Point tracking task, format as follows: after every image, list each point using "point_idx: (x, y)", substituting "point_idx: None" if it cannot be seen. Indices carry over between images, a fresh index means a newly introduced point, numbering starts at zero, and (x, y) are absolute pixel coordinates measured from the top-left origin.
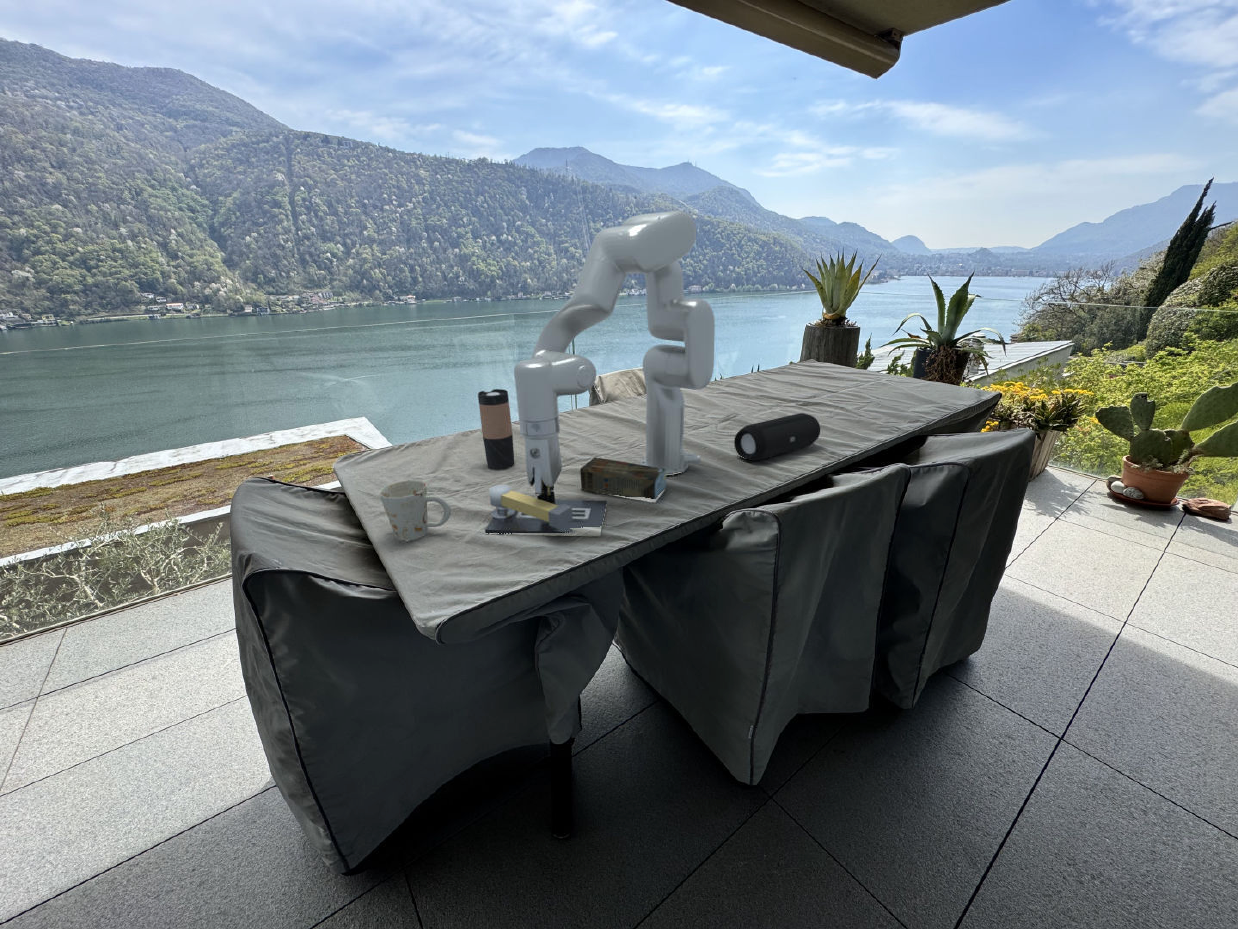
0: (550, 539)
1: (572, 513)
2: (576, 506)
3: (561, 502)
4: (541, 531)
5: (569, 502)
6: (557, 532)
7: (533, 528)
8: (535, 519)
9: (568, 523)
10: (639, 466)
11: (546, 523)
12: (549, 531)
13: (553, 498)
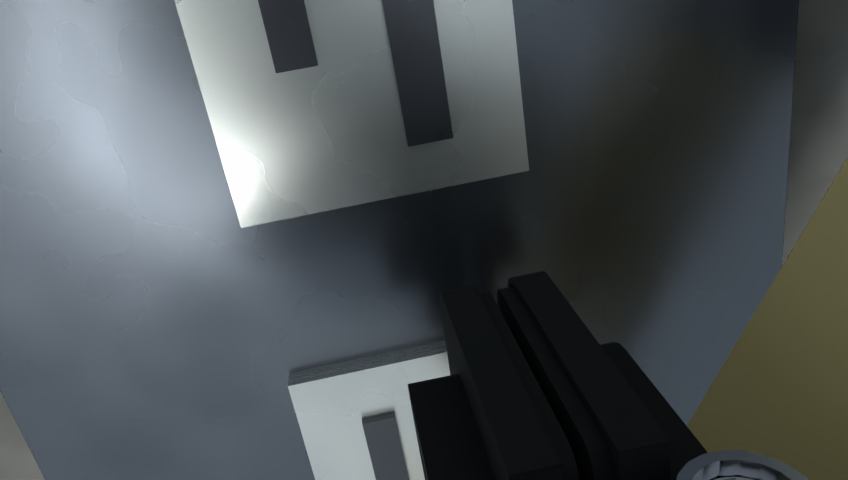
0: (818, 118)
1: (364, 36)
2: (81, 70)
3: (52, 314)
4: (780, 247)
5: (4, 214)
6: (786, 74)
7: (730, 343)
8: None
9: (594, 9)
10: None
11: (621, 266)
12: (784, 167)
13: (578, 380)
